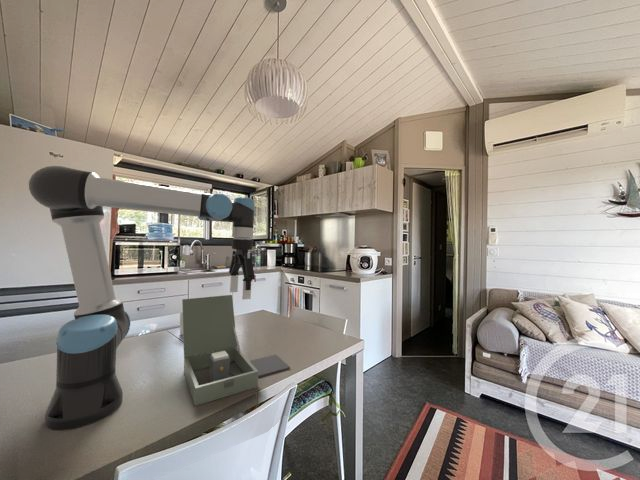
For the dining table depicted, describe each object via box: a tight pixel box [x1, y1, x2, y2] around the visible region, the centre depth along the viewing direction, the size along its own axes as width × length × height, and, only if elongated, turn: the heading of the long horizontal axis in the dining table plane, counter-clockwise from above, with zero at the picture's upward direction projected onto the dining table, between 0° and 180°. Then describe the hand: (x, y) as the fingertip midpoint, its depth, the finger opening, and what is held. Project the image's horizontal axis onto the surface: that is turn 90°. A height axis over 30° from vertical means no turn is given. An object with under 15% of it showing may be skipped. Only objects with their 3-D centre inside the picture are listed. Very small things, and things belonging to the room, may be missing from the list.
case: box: [181, 294, 259, 407], centre depth 89 cm, size 18×31×23 cm, turn 35°
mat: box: [249, 354, 291, 379], centre depth 96 cm, size 12×12×1 cm
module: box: [208, 351, 231, 382], centre depth 86 cm, size 5×5×8 cm
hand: (239, 295), depth 99 cm, fingers open, 13 cm apart
